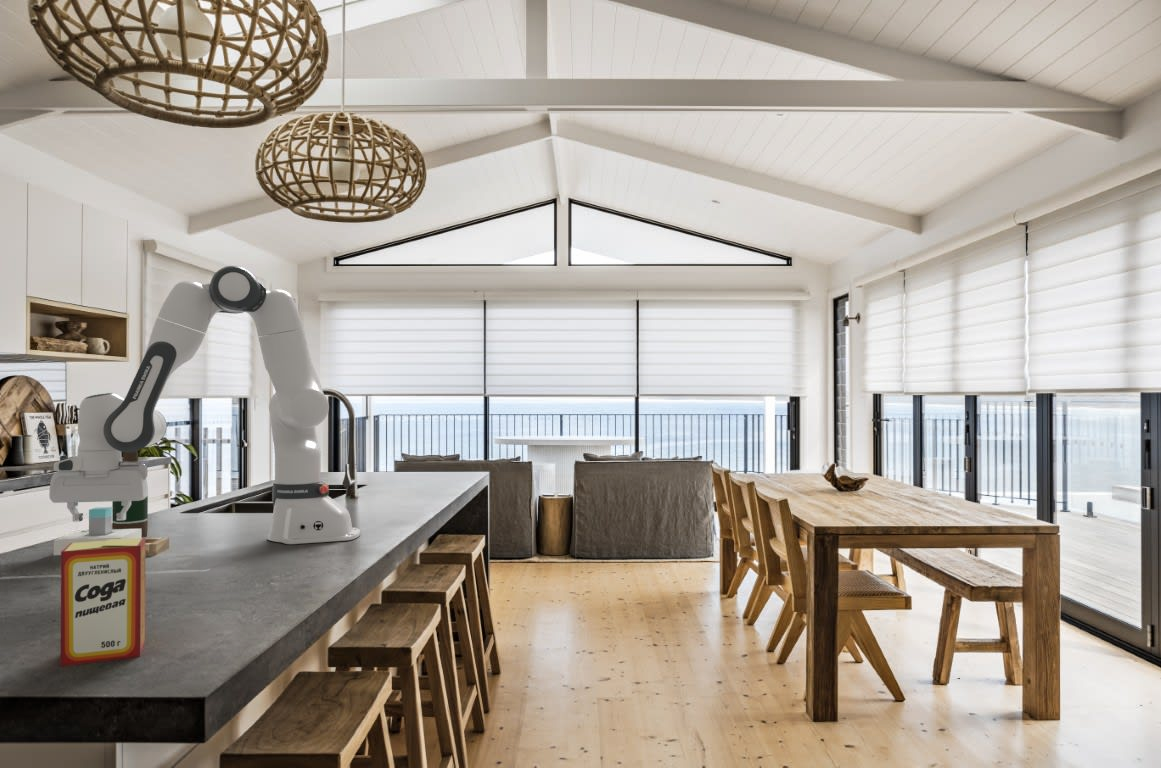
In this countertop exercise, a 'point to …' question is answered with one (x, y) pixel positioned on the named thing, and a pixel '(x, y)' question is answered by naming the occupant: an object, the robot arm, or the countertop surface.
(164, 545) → the square wooden tray
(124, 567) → the baking soda box
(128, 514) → the beer bottle
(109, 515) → the plug
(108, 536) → the port
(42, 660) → the countertop surface
